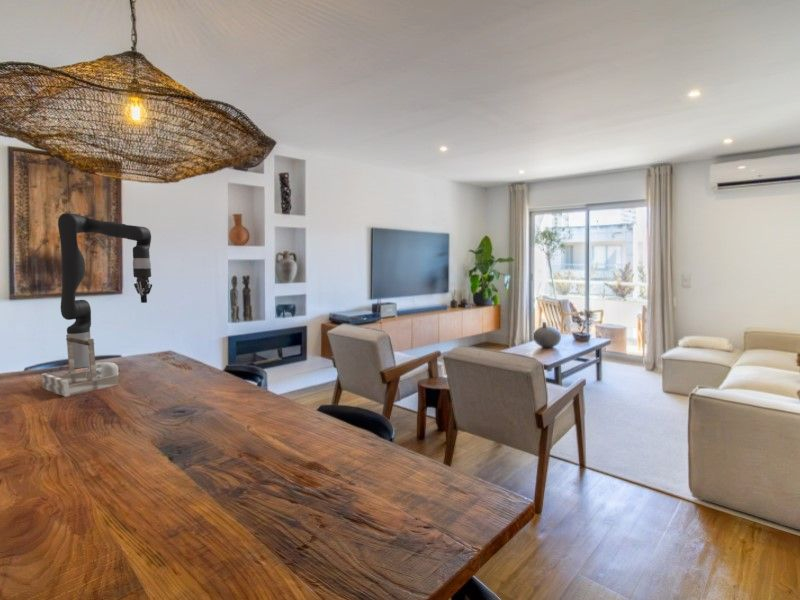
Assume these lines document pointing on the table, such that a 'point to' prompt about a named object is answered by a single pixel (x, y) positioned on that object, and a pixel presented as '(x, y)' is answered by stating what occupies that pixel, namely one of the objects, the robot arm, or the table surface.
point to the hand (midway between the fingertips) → (144, 302)
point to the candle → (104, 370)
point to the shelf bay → (77, 374)
